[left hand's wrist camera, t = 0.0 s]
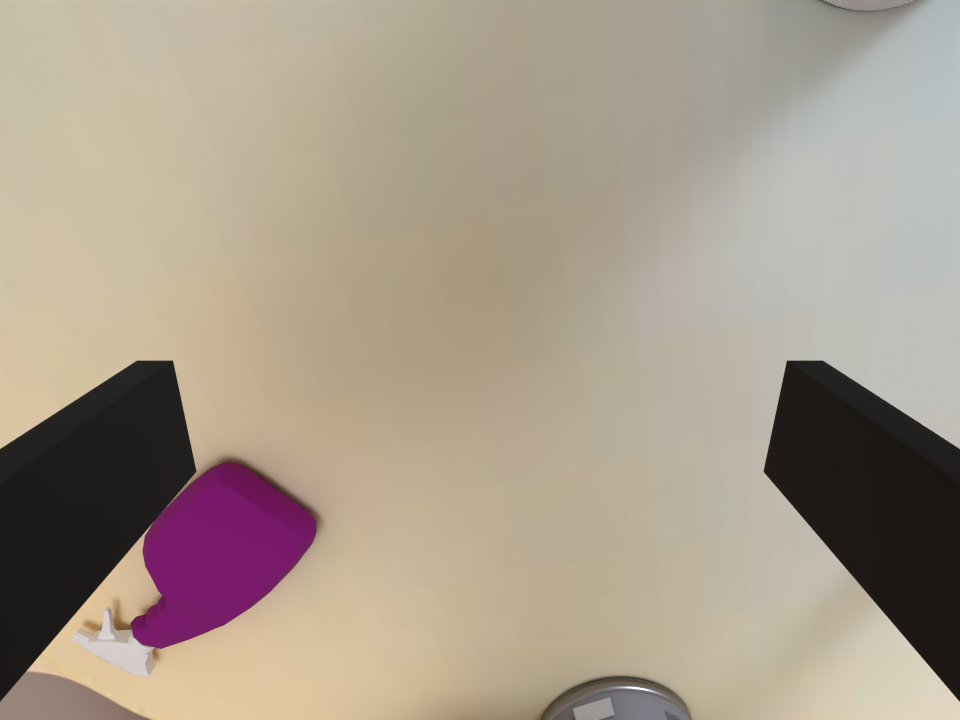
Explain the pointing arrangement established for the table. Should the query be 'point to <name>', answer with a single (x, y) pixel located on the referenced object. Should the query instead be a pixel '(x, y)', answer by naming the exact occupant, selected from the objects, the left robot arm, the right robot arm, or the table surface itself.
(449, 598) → the table surface
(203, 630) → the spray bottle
